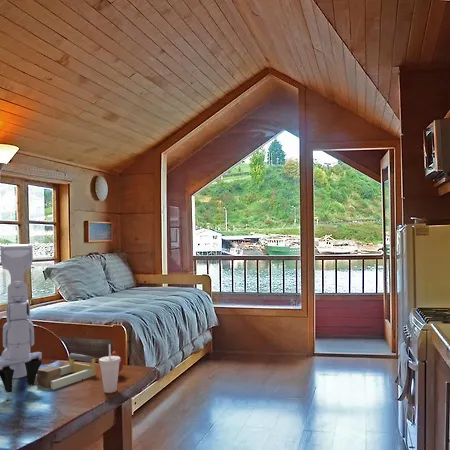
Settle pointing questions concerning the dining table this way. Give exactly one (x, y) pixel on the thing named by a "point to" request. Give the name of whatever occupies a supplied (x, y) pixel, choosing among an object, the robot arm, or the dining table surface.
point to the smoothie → (109, 371)
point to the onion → (119, 362)
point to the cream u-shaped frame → (79, 371)
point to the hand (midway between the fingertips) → (19, 388)
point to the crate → (47, 376)
